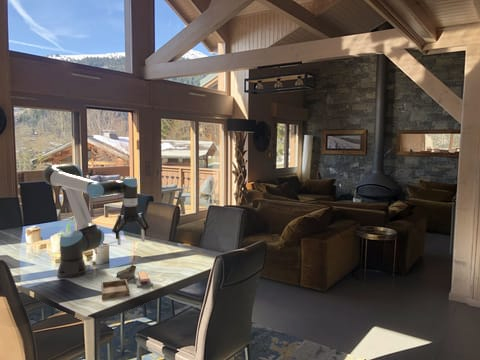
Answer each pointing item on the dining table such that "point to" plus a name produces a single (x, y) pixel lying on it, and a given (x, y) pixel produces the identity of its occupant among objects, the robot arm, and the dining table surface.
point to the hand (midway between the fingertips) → (131, 242)
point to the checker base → (139, 284)
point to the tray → (114, 289)
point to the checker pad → (143, 276)
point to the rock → (127, 273)
